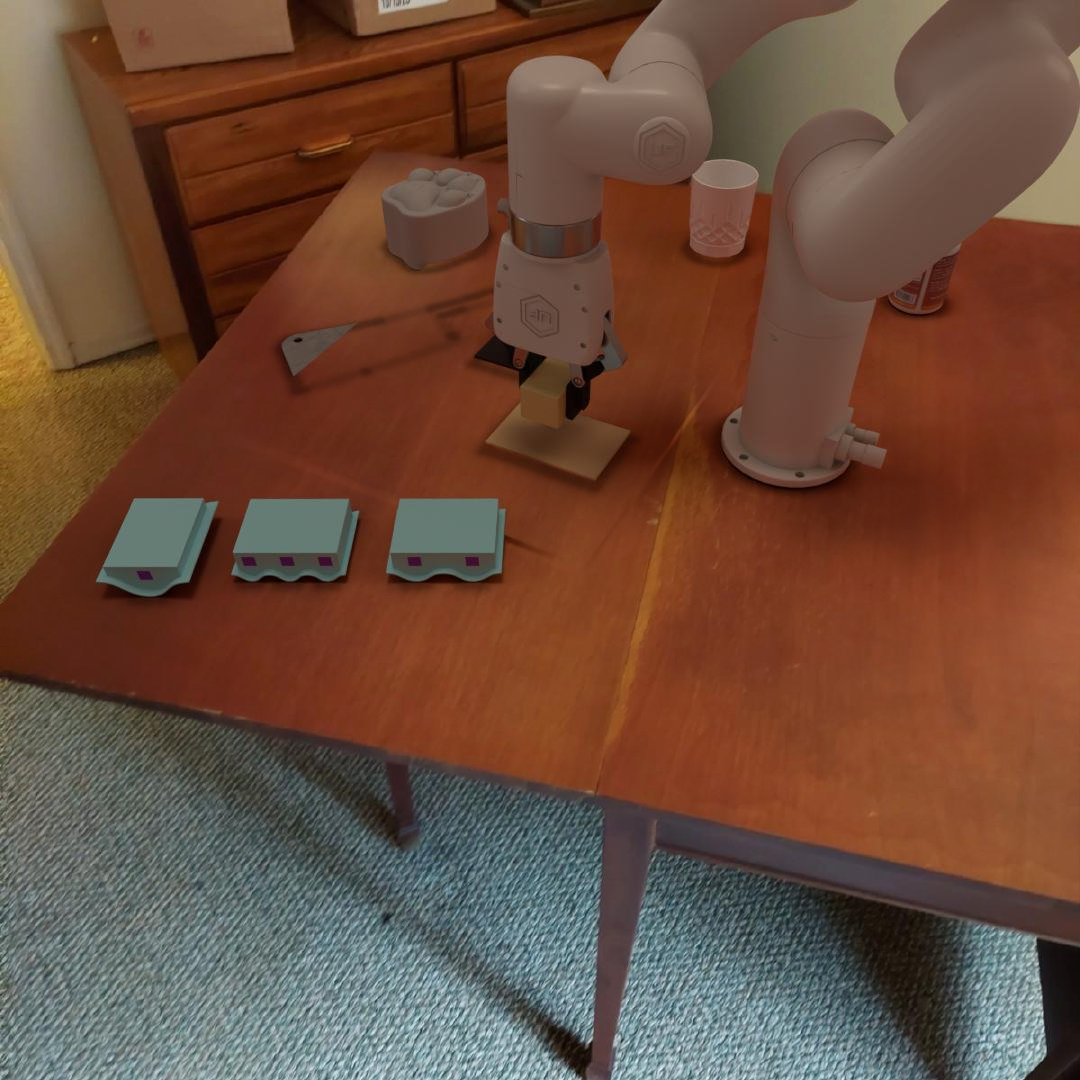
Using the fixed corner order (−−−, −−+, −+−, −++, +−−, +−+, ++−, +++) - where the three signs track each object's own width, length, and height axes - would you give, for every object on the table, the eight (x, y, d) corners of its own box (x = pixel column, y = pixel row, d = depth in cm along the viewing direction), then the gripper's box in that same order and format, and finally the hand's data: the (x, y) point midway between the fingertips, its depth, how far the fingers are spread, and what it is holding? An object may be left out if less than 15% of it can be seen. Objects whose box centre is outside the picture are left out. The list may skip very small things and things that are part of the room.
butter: (550, 383, 94) (550, 353, 91) (586, 394, 92) (587, 364, 90) (520, 416, 90) (519, 386, 88) (557, 429, 89) (558, 399, 86)
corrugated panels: (139, 516, 89) (103, 596, 82) (129, 492, 87) (91, 573, 80) (506, 515, 88) (501, 597, 81) (504, 492, 86) (499, 573, 79)
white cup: (685, 233, 124) (692, 157, 117) (747, 236, 123) (758, 160, 116) (683, 264, 119) (690, 186, 111) (747, 267, 118) (759, 189, 111)
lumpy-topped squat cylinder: (379, 243, 124) (369, 178, 118) (462, 213, 129) (457, 150, 123) (421, 276, 118) (413, 209, 112) (507, 243, 123) (504, 178, 117)
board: (630, 439, 95) (630, 430, 94) (594, 488, 90) (595, 478, 89) (524, 406, 99) (524, 396, 98) (485, 450, 94) (484, 441, 94)
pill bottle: (939, 290, 113) (967, 201, 105) (944, 318, 109) (974, 227, 101) (885, 286, 114) (908, 197, 106) (888, 313, 110) (913, 223, 102)
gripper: (444, 221, 79) (458, 400, 92) (629, 271, 73) (616, 454, 86) (490, 185, 83) (498, 360, 96) (668, 229, 78) (650, 408, 91)
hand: (554, 402), depth 91 cm, fingers closed on butter, 4 cm apart
